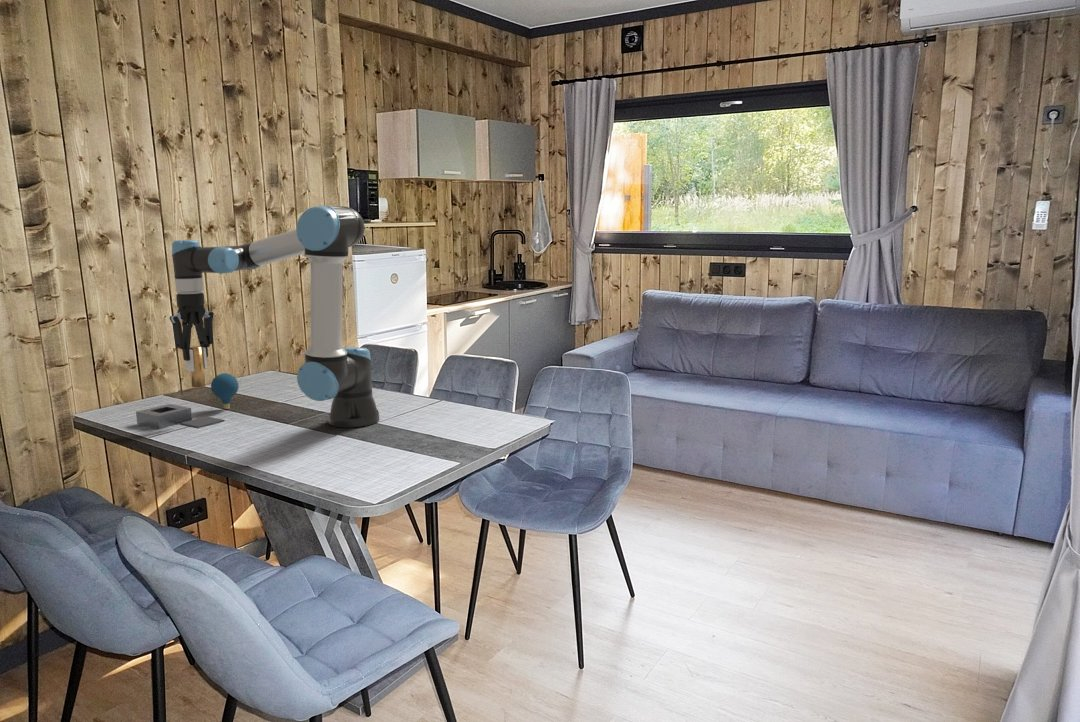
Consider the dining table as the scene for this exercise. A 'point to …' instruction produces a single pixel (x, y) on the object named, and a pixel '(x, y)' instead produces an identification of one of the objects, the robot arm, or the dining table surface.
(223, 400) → the light bulb
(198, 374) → the golden cylinder
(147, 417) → the block
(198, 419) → the mat
